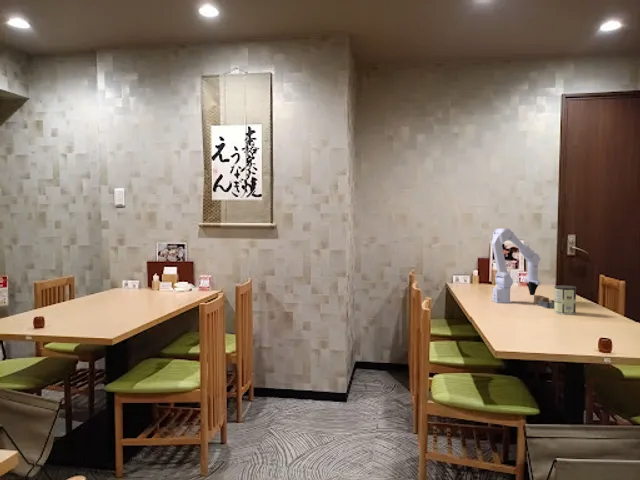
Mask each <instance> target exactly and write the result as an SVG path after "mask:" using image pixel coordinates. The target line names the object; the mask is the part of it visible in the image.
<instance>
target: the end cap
mask: <svg viewBox="0 0 640 480" xmlns="http://www.w3.org/2000/svg"><path fill="white" fill-rule="evenodd" d="M554 303H555V299H552V300H551V302H549V303H548V302H545V301H541V300H538V304H537V305H538V306H539V307H543V308H545V309H554Z"/></svg>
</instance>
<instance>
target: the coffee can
mask: <svg viewBox="0 0 640 480" xmlns="http://www.w3.org/2000/svg"><path fill="white" fill-rule="evenodd" d="M553 287H554V301H555V303H554V308H553V309H554V310H553V311H554V312H553V313H555V314H558V315H564V316H567V315H570V316H571V315H572V316H573V315H575V314H576V305H577V303H576V302H577V287H576V286H575V285H565V284H564V285H563V284H561V285H556V284H555V285H554V286H553Z"/></svg>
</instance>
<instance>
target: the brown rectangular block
mask: <svg viewBox="0 0 640 480" xmlns="http://www.w3.org/2000/svg"><path fill="white" fill-rule="evenodd" d="M538 300H541V301H545V302H548V303H550V298H549V297H547V296H543V295H540V294H535V295H533V303H534V304H537V305H538Z"/></svg>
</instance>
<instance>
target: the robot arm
mask: <svg viewBox="0 0 640 480" xmlns="http://www.w3.org/2000/svg"><path fill="white" fill-rule="evenodd" d="M507 241H510V242H511V243H512V244H514V245H515V246H516V247H517V248H518V252H519V253H521V255H523V256H524V258H525V261H526V262H527V275H526V276H527V277H526V278H524V282H525V283H526V286H527V288H528V291H529V295H530V296H534V295H536V291H537V288H538V287H539V286H540V285H541V281H540V279H539V274H538V273H539V263H540V260H541V257H540V255H539V254H538V253H536V252H535V251H534V250H533V249H531V247H530V245H528V244H527V243H525V244H524V243H523V242H522V241H521V240H520V239H519V238H518V236H517V235H515V233H514V231H512V229H511V228H500V227H498V228H495V230H494V231H493V232H492V240H491V247H492V251H493V257H494V261H495V266H496V267H495V268H496V271H497V272H495V274H494V275H495V279H494V282H495V285H496V287H495V286H494V287H493V289H492V299H491V301H492V302H494V303H497V304H502V303H503V304H504V303H505V304H506V303H507V304H508V303H509V304H510V303H511V304H513V303H514V302H513V301H511V287H512V286H513V285H514V281H513V278H512V277H511V273H509V271H508V269H507V268H508V267H507V264H506V258H505V253H504V248H503V244H505V242H507Z"/></svg>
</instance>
